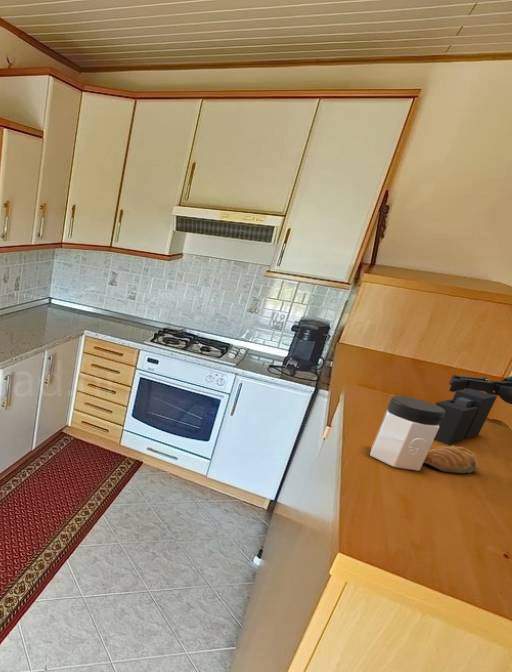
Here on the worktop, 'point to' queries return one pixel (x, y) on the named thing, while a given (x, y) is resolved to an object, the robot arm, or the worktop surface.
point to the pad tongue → (475, 400)
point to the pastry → (452, 459)
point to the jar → (407, 432)
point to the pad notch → (454, 422)
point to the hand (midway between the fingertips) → (488, 396)
